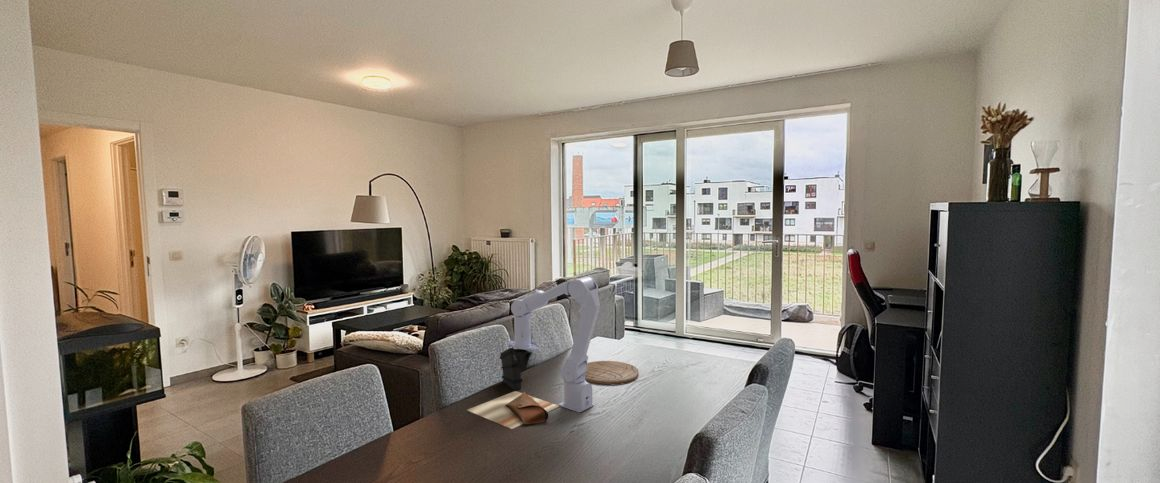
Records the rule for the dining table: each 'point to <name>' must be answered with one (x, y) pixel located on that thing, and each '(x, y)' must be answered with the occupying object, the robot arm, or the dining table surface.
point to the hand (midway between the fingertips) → (522, 369)
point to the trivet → (610, 372)
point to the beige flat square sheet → (506, 410)
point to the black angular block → (510, 369)
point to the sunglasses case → (527, 409)
